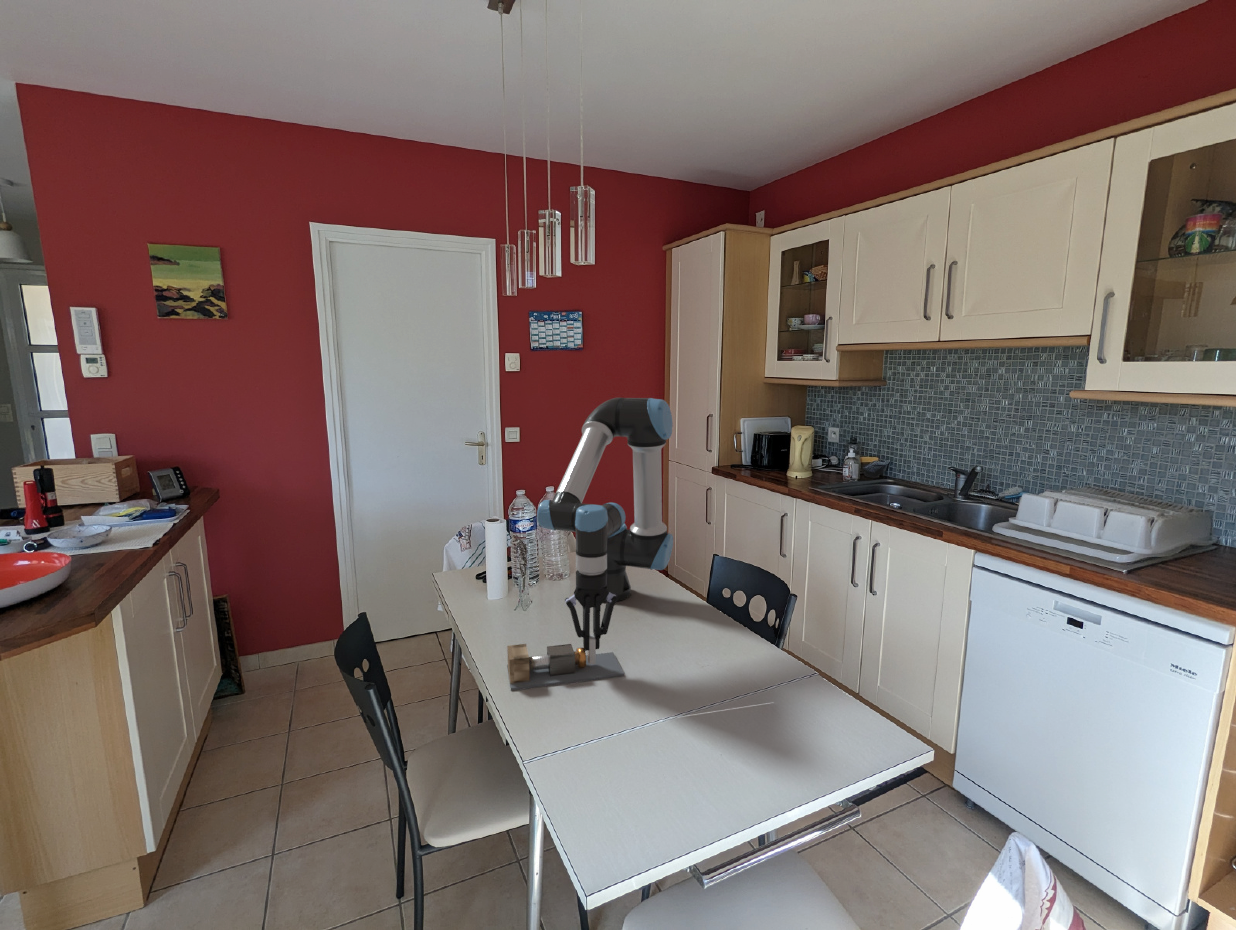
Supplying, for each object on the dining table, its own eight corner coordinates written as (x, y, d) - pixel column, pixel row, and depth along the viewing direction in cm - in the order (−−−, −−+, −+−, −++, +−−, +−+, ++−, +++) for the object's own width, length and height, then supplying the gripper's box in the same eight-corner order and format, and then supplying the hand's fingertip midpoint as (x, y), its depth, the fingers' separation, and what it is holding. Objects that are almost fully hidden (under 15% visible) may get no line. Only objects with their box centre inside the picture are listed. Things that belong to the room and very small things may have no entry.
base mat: (613, 654, 152) (613, 652, 152) (624, 675, 142) (624, 673, 142) (507, 666, 145) (507, 664, 145) (510, 690, 135) (510, 688, 135)
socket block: (526, 666, 144) (525, 643, 143) (529, 681, 138) (529, 657, 137) (507, 668, 143) (507, 645, 142) (510, 683, 137) (509, 659, 136)
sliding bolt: (582, 661, 147) (582, 644, 146) (586, 670, 142) (586, 652, 142) (516, 669, 143) (515, 651, 142) (517, 679, 138) (517, 661, 137)
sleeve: (571, 662, 146) (571, 643, 145) (575, 673, 141) (574, 653, 141) (547, 665, 145) (546, 646, 144) (550, 676, 140) (549, 656, 139)
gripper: (613, 562, 146) (613, 651, 150) (562, 566, 143) (562, 657, 147) (621, 573, 139) (620, 665, 143) (567, 577, 136) (567, 672, 140)
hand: (591, 661), depth 145 cm, fingers closed
